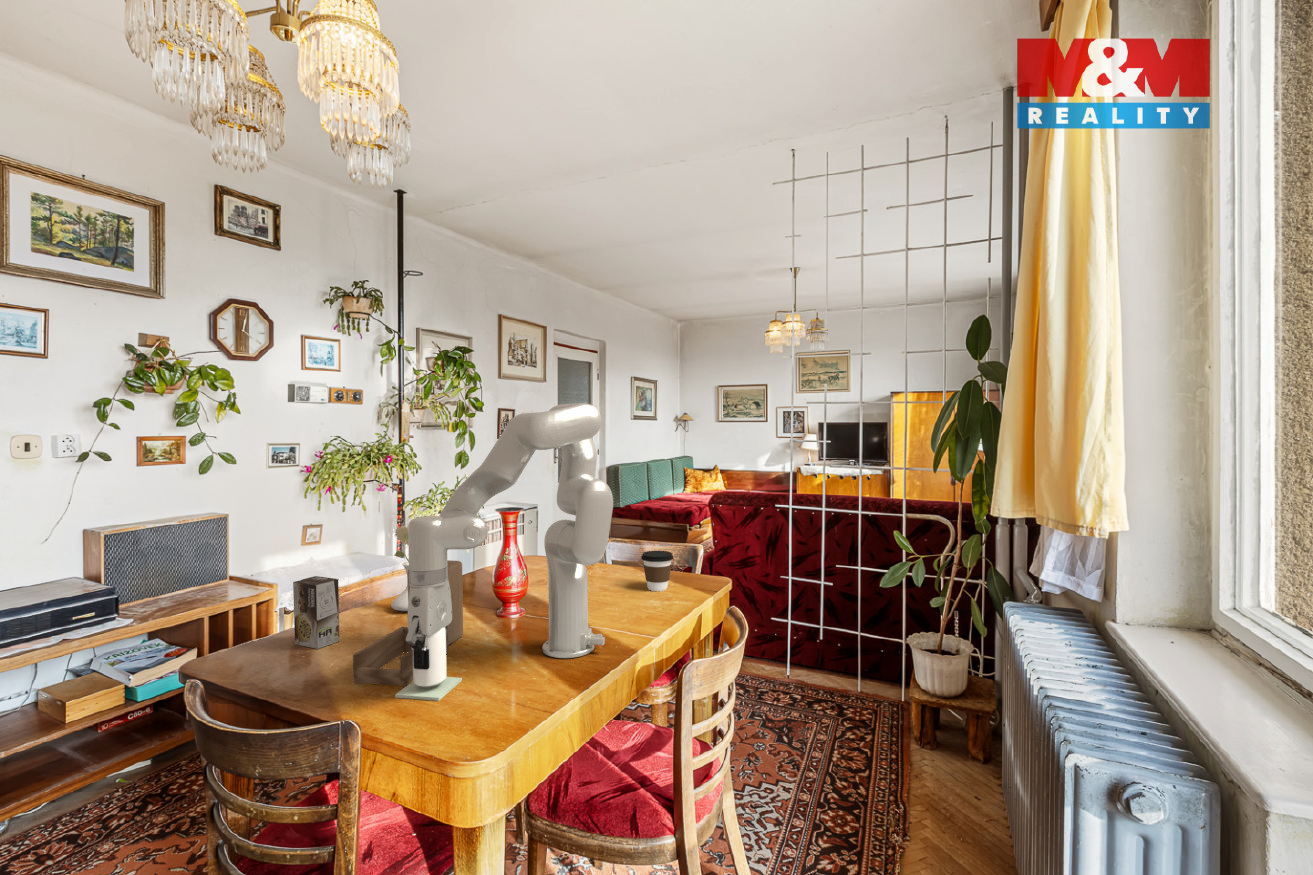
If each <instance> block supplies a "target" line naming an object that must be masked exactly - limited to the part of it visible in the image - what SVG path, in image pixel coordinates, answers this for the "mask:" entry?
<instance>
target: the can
mask: <svg viewBox="0 0 1313 875" xmlns="http://www.w3.org/2000/svg"><path fill="white" fill-rule="evenodd" d="M417 634H423V633H422V631H418V633H417ZM417 639H418V640H420V641H421V642H422V643H423V637H417ZM427 649H429V669H427V670H423V669H414V662H413V681H414V683H415V684H416V685H417V686H419V687H431V686H435V685H438V684H440V683H442V682H443V681H444V680H445V679H446V677H447V655H446V630H445V627H444V628H441V629H440V631H438V632H437V633H436V634H434V635H432V636H428V645H427Z"/></svg>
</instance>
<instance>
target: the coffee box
mask: <svg viewBox="0 0 1313 875" xmlns="http://www.w3.org/2000/svg"><path fill="white" fill-rule="evenodd" d="M292 583H293V584H292V588H293V590H292V591H293V614H294V615H293V619H294V620H293V624H294V645H296V646H302V647H308V648H312V649H316V650H320V649H321V648H325V647H327V646H330V645H333V644H336V643H339V642H338V641H340V608H339V607H340V605H339V604H340V602H339V600H340V598H339V589H340V588H339V578H332V577H325V576H320V575H319V576H318V575H314V576H311V577H310V576H309V577H306V578H302V579H300V580H295V581H293V582H292Z"/></svg>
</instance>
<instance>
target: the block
mask: <svg viewBox="0 0 1313 875" xmlns="http://www.w3.org/2000/svg"><path fill="white" fill-rule="evenodd" d="M447 564H448V581H449V585H450V592H451V602H452V621H451V623H450V624H449V625H448V626H447V629H448V646H450V645H451V644H453V643H454V642H456V641H457V640H459V639H460V638H462V637H463V635H464V606H463V604H464V602H463V600H464V598H463V594H464V593H463V591H464V590H463V563H462V561H460V560H449V559H447ZM409 591H410V586H409V569H408V600H409Z"/></svg>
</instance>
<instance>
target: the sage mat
mask: <svg viewBox="0 0 1313 875" xmlns="http://www.w3.org/2000/svg"><path fill="white" fill-rule="evenodd" d="M462 681H463V677H454V676H446V679H445V680H444V681H443V682H442V683H440V684H438V685H435V686H431V687H419V686H417V685H416V684H415V683H414V680H412V681H411V682H409V683H408V684H407V686H406V685H405V686H404V688H402V689H401V690H399V691H397V692H396V694H395V695H394V696H395V699H410V700H420V701H421V700H422V701H423V700H425V701H434V702H436V701H437V702H439V701H440V700H442V699H443V698H444V697H445V696H446V695H447V694H448V693H450V692H451V691H452V690H453V689H454V688H456V687H457V686H458V685H459V684H460V683H461V682H462Z"/></svg>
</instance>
